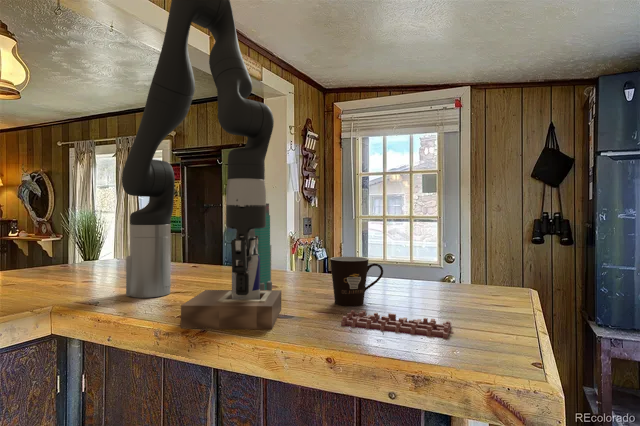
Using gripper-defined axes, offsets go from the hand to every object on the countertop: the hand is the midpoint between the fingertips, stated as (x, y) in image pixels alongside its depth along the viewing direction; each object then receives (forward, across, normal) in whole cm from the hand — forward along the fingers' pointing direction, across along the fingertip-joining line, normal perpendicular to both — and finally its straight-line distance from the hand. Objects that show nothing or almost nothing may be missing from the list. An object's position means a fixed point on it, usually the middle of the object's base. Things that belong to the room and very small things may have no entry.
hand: (245, 290), depth 77 cm
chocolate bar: (+6, +4, +28) cm, 29 cm away
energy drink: (+5, 0, 0) cm, 5 cm away
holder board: (+5, 0, -2) cm, 6 cm away
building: (+5, -21, -1) cm, 22 cm away
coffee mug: (+5, -13, +22) cm, 26 cm away
